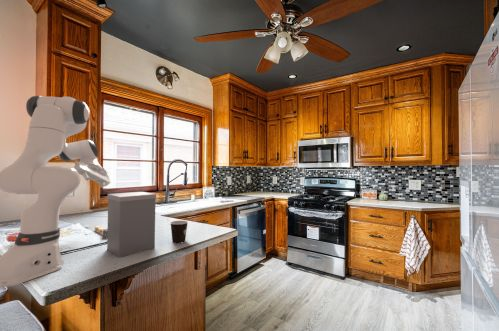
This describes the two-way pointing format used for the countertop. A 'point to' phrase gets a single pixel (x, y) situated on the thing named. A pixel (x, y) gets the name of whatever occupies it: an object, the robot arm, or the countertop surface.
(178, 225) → the coffee mug
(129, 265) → the countertop surface
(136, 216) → the case
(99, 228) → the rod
